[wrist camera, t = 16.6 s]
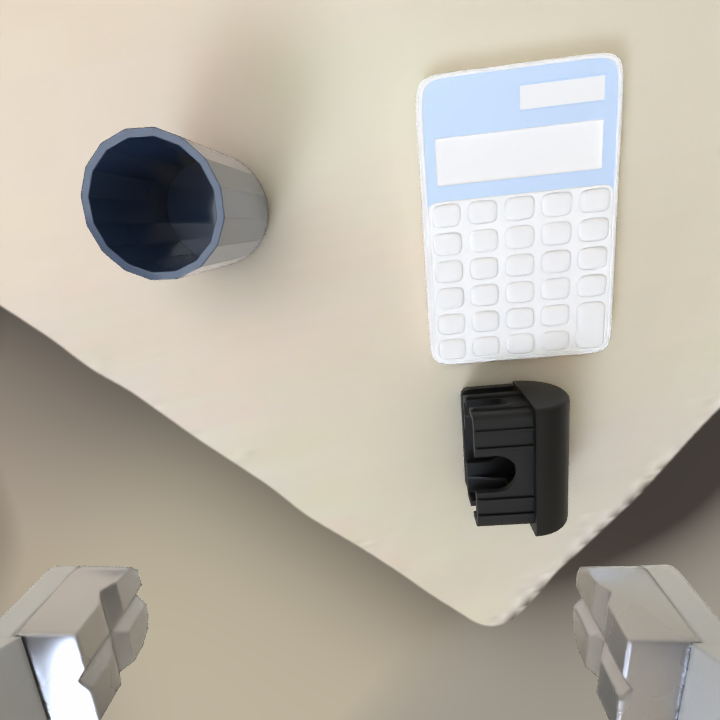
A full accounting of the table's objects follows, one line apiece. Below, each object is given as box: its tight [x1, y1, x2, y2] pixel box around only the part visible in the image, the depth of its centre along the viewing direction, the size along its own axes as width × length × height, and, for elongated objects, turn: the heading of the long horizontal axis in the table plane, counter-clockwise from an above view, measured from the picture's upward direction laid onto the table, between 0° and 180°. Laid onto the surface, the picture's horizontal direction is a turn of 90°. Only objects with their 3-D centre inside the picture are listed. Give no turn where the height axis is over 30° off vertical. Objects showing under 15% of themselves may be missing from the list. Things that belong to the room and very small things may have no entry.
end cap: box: [461, 381, 570, 536], centre depth 36 cm, size 10×7×7 cm
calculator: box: [416, 53, 623, 364], centre depth 33 cm, size 13×20×2 cm, turn 6°
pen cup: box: [81, 127, 268, 280], centre depth 30 cm, size 8×8×10 cm
